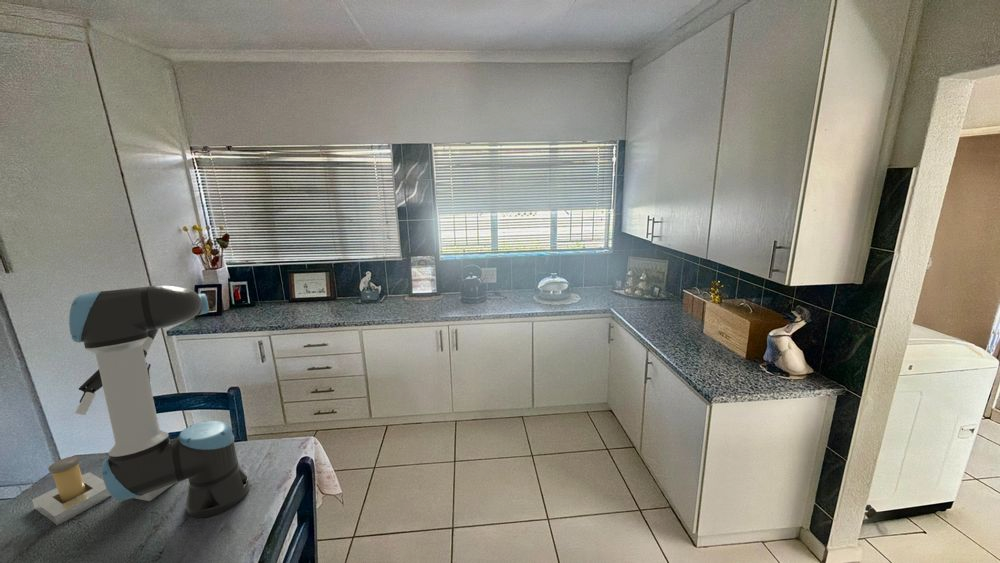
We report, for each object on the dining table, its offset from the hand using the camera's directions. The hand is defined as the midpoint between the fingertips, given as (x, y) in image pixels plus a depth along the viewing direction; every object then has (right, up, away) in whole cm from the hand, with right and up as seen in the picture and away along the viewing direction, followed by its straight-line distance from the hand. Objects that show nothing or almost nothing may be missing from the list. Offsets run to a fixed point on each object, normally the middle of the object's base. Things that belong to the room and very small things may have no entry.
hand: (102, 413), depth 120 cm
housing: (+1, -23, -8) cm, 24 cm away
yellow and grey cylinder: (+1, -23, -8) cm, 24 cm away
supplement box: (+19, -22, -3) cm, 29 cm away
